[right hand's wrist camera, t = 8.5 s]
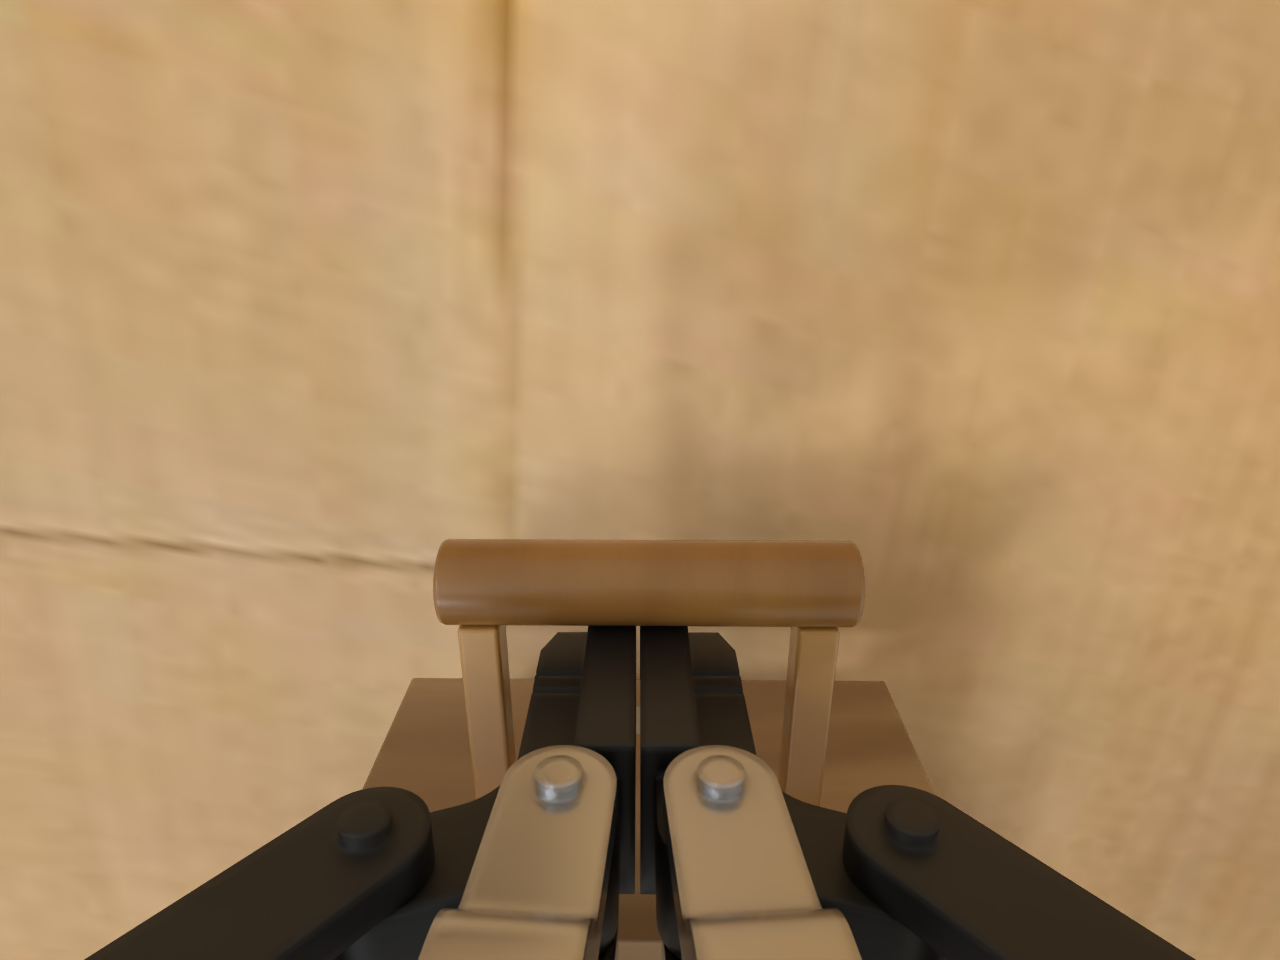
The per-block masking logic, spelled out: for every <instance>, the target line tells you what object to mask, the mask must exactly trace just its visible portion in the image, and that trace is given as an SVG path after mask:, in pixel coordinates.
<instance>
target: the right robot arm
mask: <svg viewBox="0 0 1280 960" xmlns="http://www.w3.org/2000/svg"><path fill="white" fill-rule="evenodd" d="M635 816H636V626H588V632H558V633H557V634H556V635H555V636H554V637H553V638H552V639H551V640H550V641H549V643H548V644H547V645H546V646H545V647H544V648H543V649H542V650H541V653H540V657H539V662H538V667H537V671H536V676H535V680H534V685H533V693H532V694H531V699H530V704H529V708H528V713H527V718H526V722H525V727H524V731H523V736H522V741H521V745H520V750H519V755H518V759H517V761H516V762H515V763H513V764H512V765H511V766H510V768H509V769H508V770H507V772H506V773H505V775H504V777H503V779H502V782H501V785H499V786H498V787H497V788H495V789H494V790H493V791H491V792H490V793H488V794H486V795H484V796H483V797H481V798H478V799H476V800H474V801H471V802H468V803H465V804H462V805H458V806H454V807H450V808H446V809H442V810H438V811H434V812H429V809H428V806H427V805H426V803H425V802H424V800H422V799H421V798H420V797H419V796H418V795H416V794H414V793H413V792H411V791H408V790H405V789H402V788H396V787H373V788H368V789H363V790H359V791H356V792H353V793H350V794H348V795H346V796H343V797H341V798H339V799H337V800H336V801H334V802H332V803H330V804H329V805H327V806H326V807H324V808H323V809H321V810H319V811H318V812H316V813H315V814H313V815H312V816H310V817H308V818H307V819H305V820H304V821H302V822H300V823H299V824H297V825H296V826H294V827H293V828H291V829H289V830H288V831H286V832H285V833H283V834H282V835H280V836H278V837H277V838H275V839H274V840H272V841H271V842H269V843H267V844H266V845H264V846H263V847H261V848H260V849H258V850H256V851H255V852H253V853H252V854H250V855H248V856H247V857H245V858H244V859H242V860H241V861H239V862H237V863H236V864H234V865H233V866H231V867H230V868H228V869H226V870H225V871H223V872H222V873H220V874H219V875H217V876H215V877H214V878H212V879H211V880H209V881H208V882H206V883H204V884H203V885H201V886H200V887H198V888H196V889H195V890H193V891H192V892H190V893H189V894H187V895H185V896H184V897H182V898H181V899H179V900H178V901H176V902H174V903H173V904H171V905H170V906H168V907H167V908H165V909H163V910H162V911H160V912H159V913H157V914H156V915H154V916H152V917H151V918H149V919H148V920H146V921H144V922H143V923H141V924H140V925H138V926H137V927H135V928H133V929H132V930H130V931H129V932H127V933H126V934H124V935H122V936H121V937H119V938H118V939H116V940H115V941H113V942H111V943H110V944H108V945H107V946H105V947H104V948H102V949H100V950H99V951H97V952H96V953H94V954H92V955H91V956H89V957H88V958H86V959H85V960H618V956H619V929H618V918H619V894H635ZM640 894H656V922H657V929H658V932H659V935H660V937H661V956H662V960H1195V959H1194V958H1192V957H1191V956H1189V955H1187V954H1186V953H1184V952H1183V951H1181V950H1180V949H1178V948H1176V947H1175V946H1173V945H1172V944H1170V943H1169V942H1167V941H1165V940H1164V939H1162V938H1161V937H1159V936H1158V935H1156V934H1154V933H1153V932H1151V931H1150V930H1148V929H1147V928H1145V927H1143V926H1142V925H1140V924H1139V923H1137V922H1135V921H1134V920H1132V919H1131V918H1129V917H1128V916H1126V915H1124V914H1123V913H1121V912H1120V911H1118V910H1117V909H1115V908H1113V907H1112V906H1110V905H1109V904H1107V903H1106V902H1104V901H1102V900H1101V899H1099V898H1098V897H1096V896H1095V895H1093V894H1091V893H1090V892H1088V891H1087V890H1085V889H1083V888H1082V887H1080V886H1079V885H1077V884H1076V883H1074V882H1072V881H1071V880H1069V879H1068V878H1066V877H1065V876H1063V875H1061V874H1060V873H1058V872H1057V871H1055V870H1054V869H1052V868H1050V867H1049V866H1047V865H1046V864H1044V863H1043V862H1041V861H1039V860H1038V859H1036V858H1035V857H1033V856H1031V855H1030V854H1028V853H1027V852H1025V851H1024V850H1022V849H1020V848H1019V847H1017V846H1016V845H1014V844H1013V843H1011V842H1009V841H1008V840H1006V839H1005V838H1003V837H1002V836H1000V835H998V834H997V833H995V832H994V831H992V830H991V829H989V828H987V827H986V826H984V825H983V824H981V823H979V822H978V821H976V820H975V819H973V818H972V817H970V816H968V815H967V814H965V813H964V812H962V811H961V810H959V809H957V808H956V807H954V806H953V805H951V804H950V803H948V802H946V801H945V800H943V799H941V798H939V797H938V796H936V795H934V794H931V793H929V792H927V791H924V790H921V789H917V788H914V787H909V786H903V785H882V786H876V787H873V788H870V789H867V790H865V791H863V792H861V793H860V794H858V795H857V796H856V797H855V798H854V799H853V800H852V802H851V803H850V805H849V808H848V811H847V813H844V812H840V811H835V810H831V809H827V808H823V807H819V806H815V805H812V804H809V803H805V802H803V801H800V800H798V799H796V798H793V797H792V796H790V795H788V794H786V793H784V792H783V791H782V790H781V788H780V785H779V782H778V779H777V777H776V775H775V773H774V772H773V770H772V769H771V768H770V766H769V765H768V764H767V763H766V762H764V761H763V760H762V759H760V758H759V757H758V756H757V755H756V750H755V745H754V740H753V735H752V731H751V726H750V721H749V716H748V711H747V706H746V701H745V697H744V694H743V687H742V682H741V677H740V676H739V668H738V663H737V658H736V653H735V650H734V649H733V648H732V647H731V646H730V645H729V644H728V643H727V642H726V641H725V639H724V638H723V637H722V636H721V635H720V634H719V633H688V627H687V626H640Z"/></svg>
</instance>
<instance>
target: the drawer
mask: <svg viewBox="0 0 1280 960" xmlns="http://www.w3.org/2000/svg"><path fill="white" fill-rule="evenodd" d="M433 596H434V605H435V610H436V613H437V617H438V619H439V621H440V622H441V623H443V624H445V625H460V627H459V629H458V637H459V646H460V656H461V665H462V675H463V679H448V678H414V679H412V681H411V683H410V685H409V687H408V690H407V692H406V694H405V696H404V699H403V701H402V703H401V705H400V707H399V710H398V712H397V714H396V716H395V719H394V721H393V723H392V725H391V727H390V730H389V732H388V734H387V736H386V738H385V741H384V743H383V745H382V747H381V750H380V752H379V754H378V756H377V758H376V761H375V763H374V765H373V767H372V770H371V772H370V774H369V776H368V778H367V781H366V783H365V785H364V787H363V789H368V788H373V787H396V788H402V789H405V790H408V791H411V792H413V793H414V794H416V795H418V796H419V797H420V798H421V799H422V800H424V802H425V803H426V805H427V806H428V809H429V812H434V811H438V810H442V809H446V808H450V807H454V806H458V805H462V804H465V803H468V802H471V801H474V800H476V799H478V798H481V797H483V796H484V795H486V794H488V793H490V792H491V791H493V790H494V789H495V788H497V787H498V786H499V785H501V782H502V779H503V777H504V775H505V773H506V772H507V770H508V769H509V768H510V766H511V765H512V764H513V763H515V762H516V761H517V759H518V755H519V750H520V745H521V741H522V736H523V731H524V727H525V722H526V718H527V713H528V708H529V704H530V699H531V694H532V693H533V685H534V680H535V679H510V677H509V664H508V651H507V639H506V626H505V625H582V626H750V627H791V636H790V648H789V659H788V671H787V681H749V680H741V682H742V687H743V694H744V697H745V701H746V706H747V711H748V716H749V721H750V726H751V731H752V735H753V740H754V745H755V750H756V755H757V756H758V757H759V758H760V759H762V760H763V761H764V762H766V763H767V764H768V765H769V766H770V768H771V769H772V770H773V772H774V773H775V775H776V777H777V779H778V782H779V785H780V788H781V790H782V791H783V792H784V793H786V794H788V795H790V796H792V797H793V798H796V799H798V800H800V801H803V802H805V803H809V804H812V805H815V806H819V807H823V808H827V809H831V810H835V811H840V812H844V813H847V811H848V808H849V805H850V803H851V802H852V800H853V799H854V798H855V797H856V796H857V795H858V794H860V793H861V792H863V791H865V790H867V789H870V788H873V787H876V786H882V785H903V786H909V787H914V788H917V789H921V790H924V791H927V792H929V793H931V794H934V792H933V790H932V788H931V785H930V783H929V781H928V779H927V776H926V774H925V772H924V770H923V767H922V765H921V763H920V761H919V758H918V756H917V754H916V752H915V749H914V747H913V745H912V743H911V740H910V738H909V736H908V734H907V731H906V729H905V727H904V725H903V722H902V720H901V718H900V716H899V713H898V711H897V709H896V707H895V704H894V702H893V700H892V698H891V695H890V693H889V691H888V689H887V686H886V684H885V682H883V681H834V677H835V669H836V660H837V651H838V642H839V634H840V633H839V630H838V628H837V627H853V626H855V625H857V624H858V623H859V621H860V618H861V615H862V611H863V606H864V597H865V579H864V569H863V563H862V559H861V556H860V553H859V550H858V548H857V546H856V545H855V544H854V543H852V542H850V541H726V540H518V539H448V540H446V541H444V542H443V543H442V544H441V546H440V548H439V551H438V554H437V558H436V562H435V568H434V578H433ZM934 795H935V794H934ZM618 929H619V956H618V960H662V956H661V937H660V935H659V932H658V929H657V922H656V894H640V680H636V816H635V894H619V918H618Z"/></svg>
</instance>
